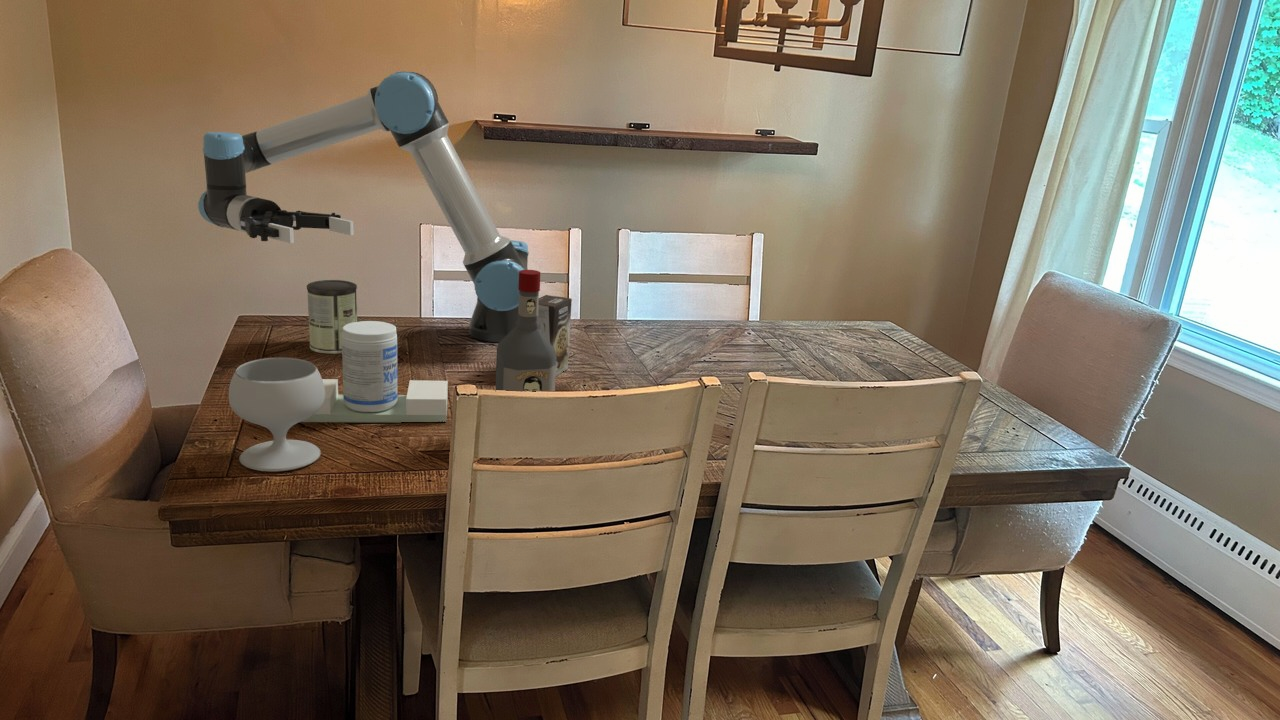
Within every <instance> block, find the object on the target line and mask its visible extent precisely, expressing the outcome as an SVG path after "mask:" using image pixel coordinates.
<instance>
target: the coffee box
mask: <svg viewBox="0 0 1280 720" xmlns="http://www.w3.org/2000/svg"><path fill="white" fill-rule="evenodd" d="M572 301H573V299H572V298H570V297H566V296H565V297H563V296H558V295H557V296H556V295H549V294H545V295H543V296H541V297H539V301H538V323H539V329H540V330H541V332H542V333H543V334H544V336H545V337H546V338H547V340H548V341H549V342H550V344H551V345H552V346H553V348H554V349H555V352H556V356H557V358H556V377H558V376H559V375H561V374H562V373H564V372H566V371H567V370H568V369H569V356H570V355H569V354H570V338H571V337H570V333H571V332H570V331H571V316H572ZM565 370H566V371H565ZM563 371H564V372H563Z"/></svg>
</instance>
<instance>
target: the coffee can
mask: <svg viewBox="0 0 1280 720" xmlns="http://www.w3.org/2000/svg"><path fill="white" fill-rule="evenodd" d="M357 286H358V285H357V284H356V283H354V282H353V281H348V280H342V279H329V280H328V279H325V280H323V279H322V280H317V281H312V282H308V284H307V285H306V290H307V310H308V311H307V312H308V332H309V350H311V351H313V352H315V353H320V354H329V355H331V354H333V355H336V354H342V330H343V327H344V326H345V325H347V324H349V323H353V322H358V315H357V314H358V313H357V311H358V309H357V308H358V307H357V306H358V305H357V304H358V303H357V290H358V287H357Z"/></svg>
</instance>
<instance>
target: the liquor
mask: <svg viewBox="0 0 1280 720" xmlns="http://www.w3.org/2000/svg"><path fill="white" fill-rule="evenodd" d="M518 290H519V307H518V320H517V322H516V327H515V328H514V329H513V330H512V331H511V332H510V333H509V334H508V335H507V336H506V337H505V338H504V339H502V340H501V341H500V342H498V346H497V347H496V361H495V362H496V363H495V365H496V367H495V391H496V390H506V391H532V392H536V391H555V392H556V378H557V376H556V358H557V356H556V352H555V349H554V348H553V346H552V345H551V344H550V342H549V341H548V340H547V338H546V337H545V336H544V334H543V333H542V332H541V330H540V329H539V323H538V301H539V298H540V297H539V296H540V295H539V294H540V293H539V292H541V271H540V270H535V269H528V270H520V271H519V286H518Z"/></svg>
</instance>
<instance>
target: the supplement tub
mask: <svg viewBox="0 0 1280 720" xmlns="http://www.w3.org/2000/svg"><path fill="white" fill-rule="evenodd" d="M341 355H342V359H341V360H342V363H341V364H342V392H343V394H342V395H343V398H344V404H345V405H346V406H347V407H348V408H349V409H351V410H354V411H359V412H378V411H384V410H387V409H390V408H392V407H393V406H395V404H396V403H397V395H398V334H397V327H396V325H394V324H393V323H389V322H385V321H380V320H379V321H378V320H377V321H376V320H363V321H362V320H360V321H357V322H353V323H349V324H347V325H345V326H344V327H343V330H342V353H341Z"/></svg>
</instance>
